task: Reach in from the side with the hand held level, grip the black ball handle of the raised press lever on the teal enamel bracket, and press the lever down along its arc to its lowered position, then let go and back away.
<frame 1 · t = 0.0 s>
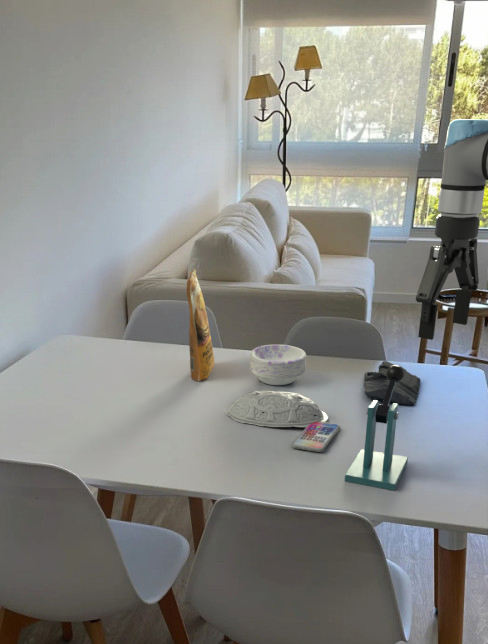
hand: (443, 330, 135), 29 cm above the table, tool pointing down, fingers open, 13 cm apart
pancake mix bag: (200, 372, 200), on the table
carved stone relief: (276, 416, 172), on the table, touching smartphone
smartphone: (316, 438, 160), on the table, touching carved stone relief
lever: (389, 392, 142), point 16 cm above the table, hinge at 28.0°
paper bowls: (277, 380, 195), on the table
dark slate chunk: (389, 390, 188), on the table
bracket: (376, 472, 145), on the table
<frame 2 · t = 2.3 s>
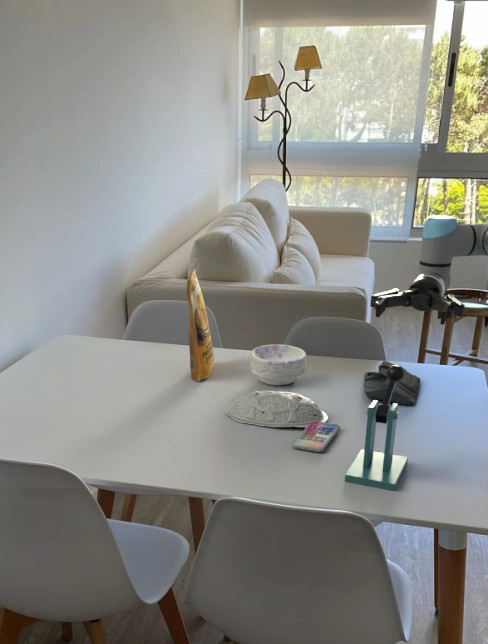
hand: (409, 314, 148), 28 cm above the table, tool horizontal, fingers open, 13 cm apart
nothing on the table moved.
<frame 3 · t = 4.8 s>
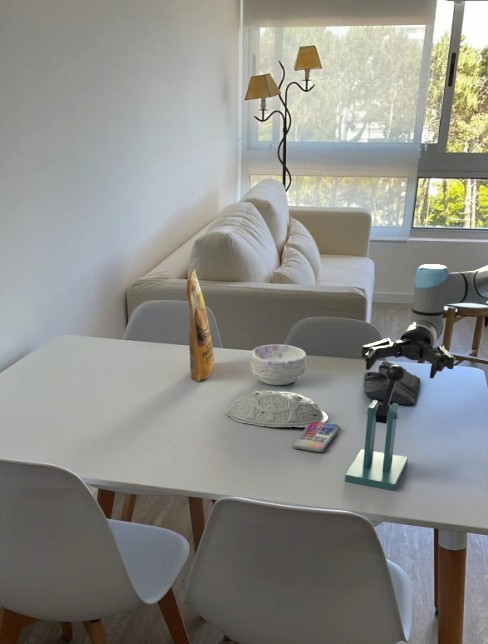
hand: (399, 367, 149), 18 cm above the table, tool horizontal, fingers open, 13 cm apart
nothing on the table moved.
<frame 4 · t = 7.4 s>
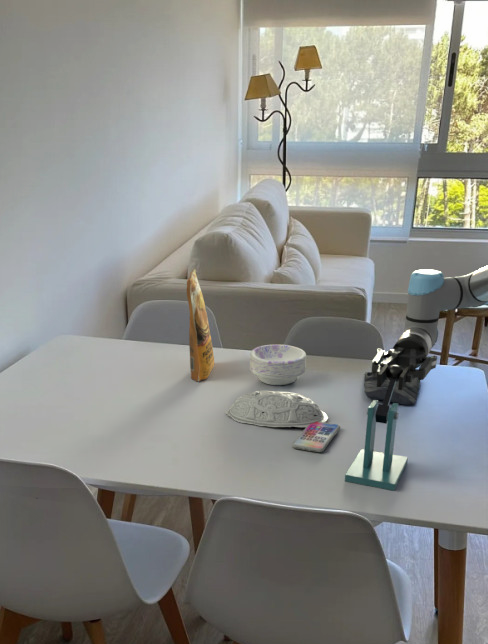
hand: (389, 382, 141), 18 cm above the table, tool horizontal, fingers closed on lever, 4 cm apart
lever: (389, 392, 142), point 16 cm above the table, hinge at 28.0°, touching gripper
everything else where it was.
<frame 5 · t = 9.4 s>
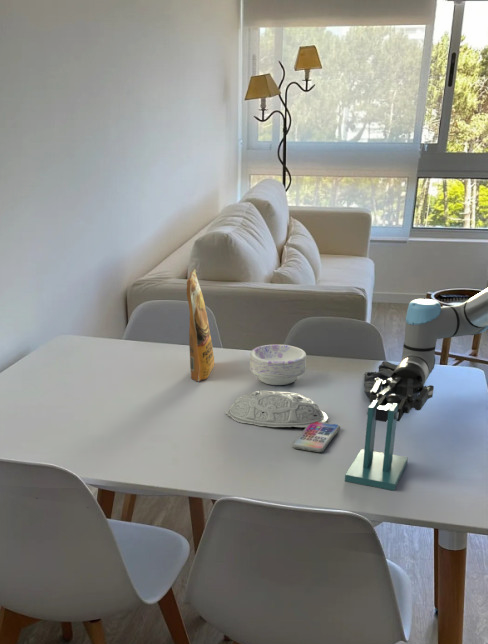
hand: (387, 413, 145), 11 cm above the table, tool horizontal, fingers closed on lever, 4 cm apart
lever: (388, 407, 144), point 12 cm above the table, hinge at -8.6°, touching gripper
everything else where it was.
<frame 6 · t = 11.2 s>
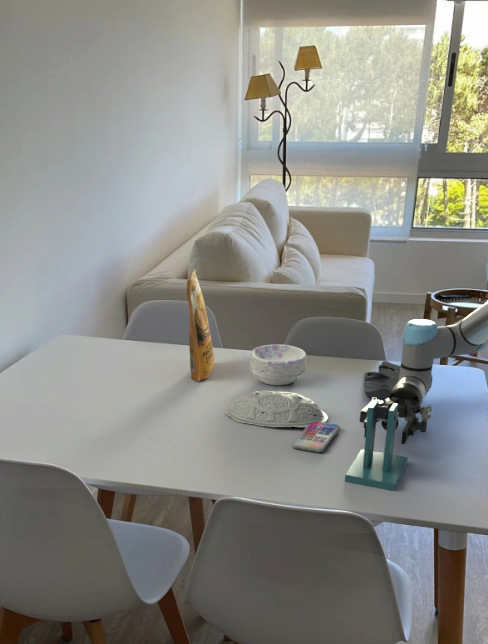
hand: (384, 434, 146), 6 cm above the table, tool horizontal, fingers open, 7 cm apart
lever: (386, 418, 145), point 10 cm above the table, hinge at -31.1°
everything else where it was.
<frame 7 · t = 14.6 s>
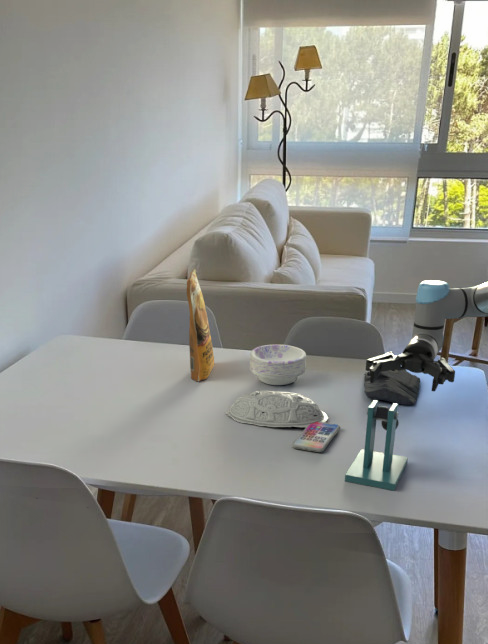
hand: (402, 381, 156), 13 cm above the table, tool horizontal, fingers open, 13 cm apart
nothing on the table moved.
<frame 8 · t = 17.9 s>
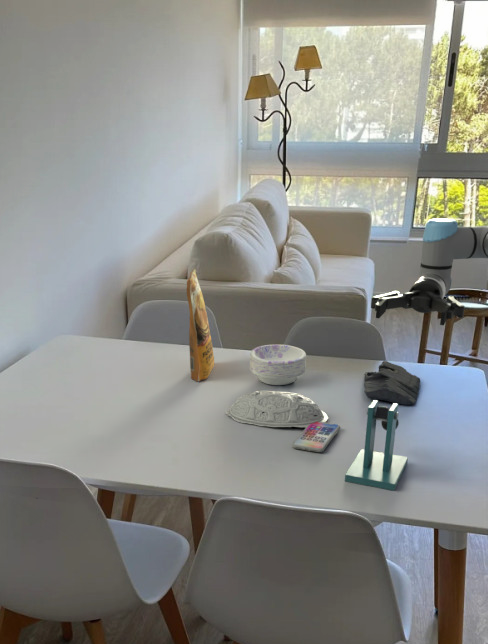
hand: (409, 315, 149), 28 cm above the table, tool horizontal, fingers open, 13 cm apart
nothing on the table moved.
at the end: lever at -31° (first picture: +28°); the gripper is holding nothing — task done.
